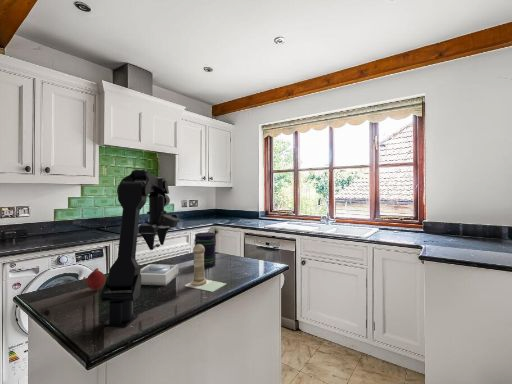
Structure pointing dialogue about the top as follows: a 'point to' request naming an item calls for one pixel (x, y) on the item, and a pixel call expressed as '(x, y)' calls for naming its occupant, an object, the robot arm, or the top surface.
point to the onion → (95, 280)
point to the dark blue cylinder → (207, 247)
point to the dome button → (157, 269)
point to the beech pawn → (198, 265)
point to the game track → (208, 286)
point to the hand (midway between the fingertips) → (156, 247)
